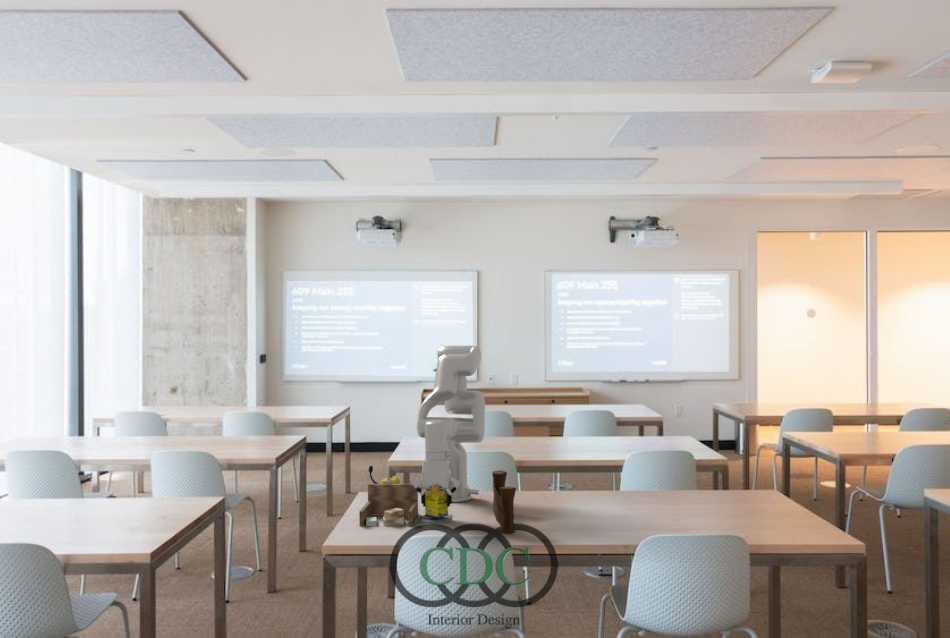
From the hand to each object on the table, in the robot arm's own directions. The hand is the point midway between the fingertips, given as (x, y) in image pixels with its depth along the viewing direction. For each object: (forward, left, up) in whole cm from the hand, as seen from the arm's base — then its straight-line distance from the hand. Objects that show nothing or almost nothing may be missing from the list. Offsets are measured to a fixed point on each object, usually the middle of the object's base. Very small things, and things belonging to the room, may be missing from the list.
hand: (436, 505), depth 264 cm
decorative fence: (-24, +4, -5) cm, 24 cm away
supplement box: (0, 0, -4) cm, 4 cm away
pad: (0, 0, -5) cm, 5 cm away
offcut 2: (+14, +6, -3) cm, 16 cm away
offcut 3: (+14, +6, -5) cm, 16 cm away
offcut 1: (+22, +6, -5) cm, 23 cm away
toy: (+22, -25, -5) cm, 34 cm away
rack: (+17, +1, -5) cm, 17 cm away
